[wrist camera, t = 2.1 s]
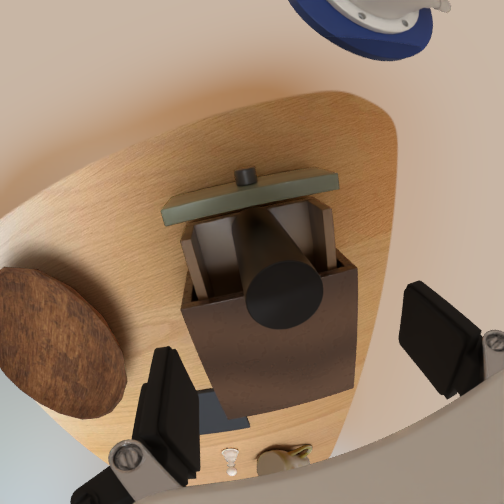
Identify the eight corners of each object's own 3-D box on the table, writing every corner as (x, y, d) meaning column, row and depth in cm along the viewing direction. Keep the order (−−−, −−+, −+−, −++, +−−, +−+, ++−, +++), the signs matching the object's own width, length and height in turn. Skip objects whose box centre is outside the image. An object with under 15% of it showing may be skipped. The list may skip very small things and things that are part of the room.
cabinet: (187, 271, 26) (180, 309, 20) (327, 239, 27) (357, 267, 21) (224, 377, 32) (227, 420, 26) (333, 350, 32) (353, 388, 26)
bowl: (164, 307, 27) (156, 338, 23) (109, 410, 33) (102, 436, 28) (12, 215, 21) (-15, 230, 17) (-1, 345, 27) (-16, 366, 22)
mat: (234, 384, 32) (234, 387, 32) (249, 424, 36) (250, 427, 36) (159, 395, 32) (159, 398, 31) (185, 433, 36) (185, 436, 35)
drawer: (167, 183, 22) (155, 193, 18) (313, 152, 23) (335, 156, 18) (210, 328, 28) (210, 360, 23) (329, 300, 28) (347, 327, 24)
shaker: (273, 202, 23) (320, 252, 13) (280, 245, 24) (326, 319, 14) (227, 212, 23) (237, 271, 12) (236, 255, 24) (253, 337, 14)
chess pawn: (241, 449, 39) (244, 473, 35) (233, 455, 40) (235, 478, 35) (226, 446, 38) (229, 471, 34) (218, 452, 39) (220, 476, 34)
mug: (295, 462, 44) (279, 500, 35) (263, 436, 45) (241, 474, 36) (324, 454, 41) (310, 495, 32) (291, 426, 42) (271, 468, 33)
